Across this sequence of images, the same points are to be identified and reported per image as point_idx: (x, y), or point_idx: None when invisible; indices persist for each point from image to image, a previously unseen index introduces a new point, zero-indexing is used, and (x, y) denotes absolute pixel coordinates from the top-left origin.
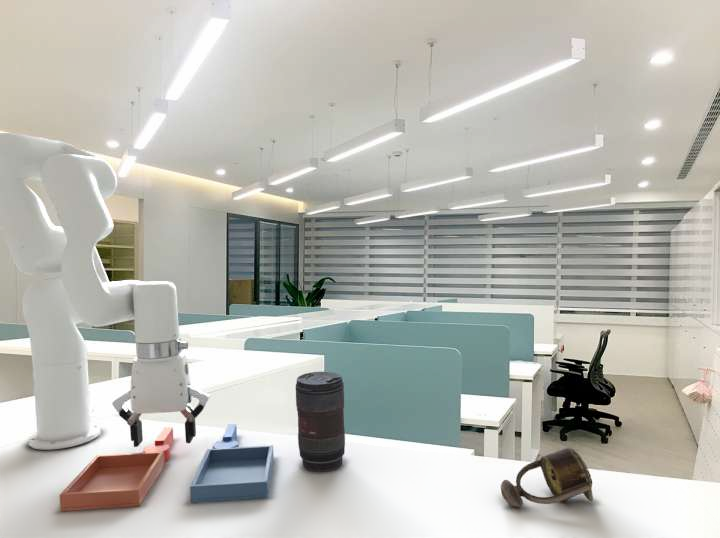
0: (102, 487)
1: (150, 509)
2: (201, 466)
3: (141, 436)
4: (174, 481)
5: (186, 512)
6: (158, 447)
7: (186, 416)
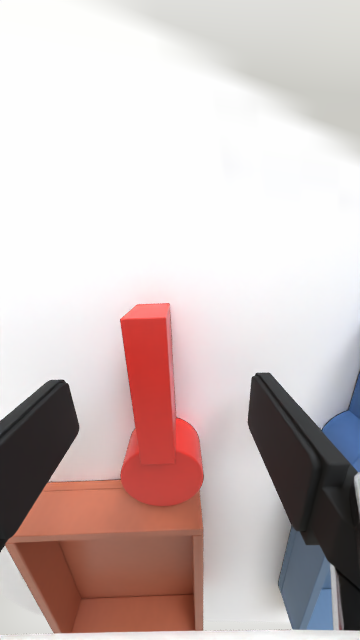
0: (107, 561)
1: (218, 591)
2: (317, 592)
3: (55, 406)
4: (237, 531)
5: (273, 597)
6: (166, 475)
7: (347, 610)
